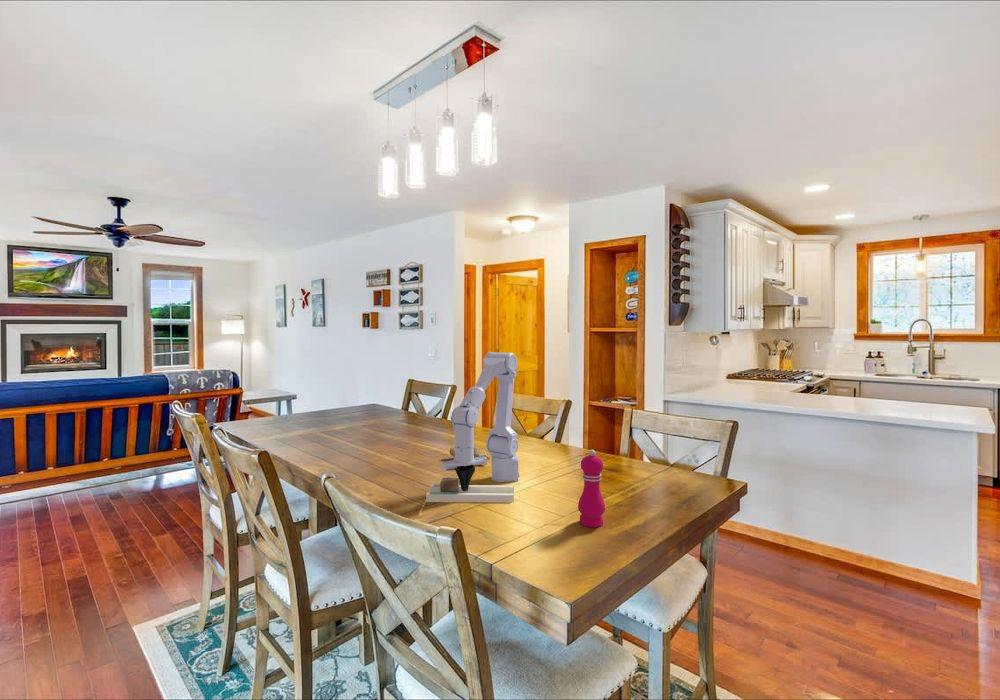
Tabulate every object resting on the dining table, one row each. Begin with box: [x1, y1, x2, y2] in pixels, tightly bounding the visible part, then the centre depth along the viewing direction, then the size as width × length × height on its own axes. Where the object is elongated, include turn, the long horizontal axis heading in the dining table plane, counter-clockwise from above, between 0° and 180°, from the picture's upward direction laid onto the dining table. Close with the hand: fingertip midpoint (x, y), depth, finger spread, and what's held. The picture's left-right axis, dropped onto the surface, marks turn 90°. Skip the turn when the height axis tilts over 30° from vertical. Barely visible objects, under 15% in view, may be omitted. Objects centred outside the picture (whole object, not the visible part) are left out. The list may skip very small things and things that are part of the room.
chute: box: [425, 483, 515, 504], centre depth 154 cm, size 26×10×3 cm, turn 88°
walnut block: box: [439, 477, 460, 493], centre depth 154 cm, size 5×5×5 cm
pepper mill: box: [577, 449, 606, 528], centre depth 135 cm, size 7×7×20 cm
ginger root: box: [449, 444, 491, 461], centre depth 194 cm, size 16×16×8 cm
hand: (464, 490), depth 154 cm, fingers closed
